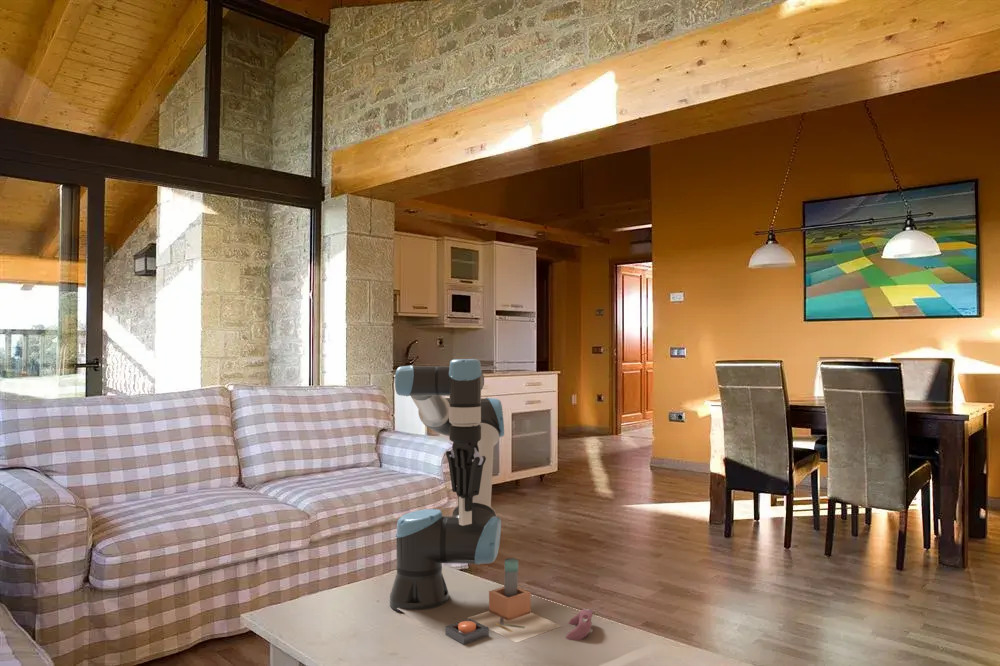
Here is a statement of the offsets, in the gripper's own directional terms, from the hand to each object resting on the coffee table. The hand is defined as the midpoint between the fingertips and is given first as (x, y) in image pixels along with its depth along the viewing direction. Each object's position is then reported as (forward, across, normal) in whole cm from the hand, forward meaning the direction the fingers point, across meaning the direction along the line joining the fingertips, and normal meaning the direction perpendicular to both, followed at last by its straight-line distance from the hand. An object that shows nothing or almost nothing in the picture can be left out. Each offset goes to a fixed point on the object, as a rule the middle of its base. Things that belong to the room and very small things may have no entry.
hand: (465, 523), depth 166 cm
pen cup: (+23, -2, -12) cm, 26 cm away
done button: (+23, -6, +4) cm, 24 cm away
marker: (+23, -2, -12) cm, 26 cm away
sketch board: (+24, -7, -9) cm, 27 cm away
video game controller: (+25, -21, -17) cm, 37 cm away
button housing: (+24, -6, +4) cm, 25 cm away
